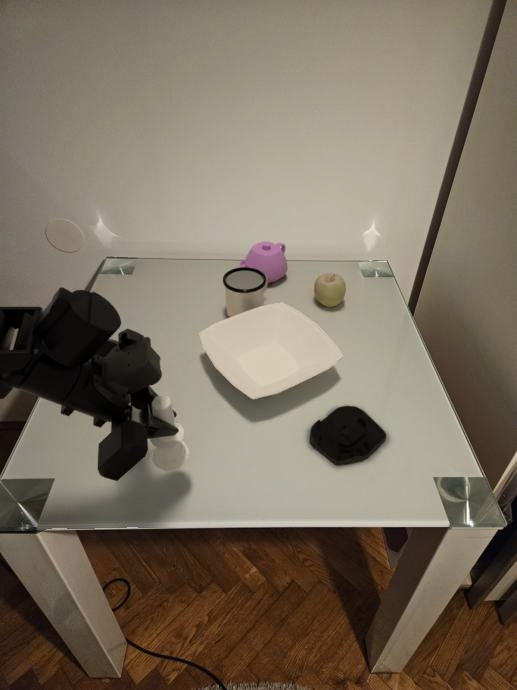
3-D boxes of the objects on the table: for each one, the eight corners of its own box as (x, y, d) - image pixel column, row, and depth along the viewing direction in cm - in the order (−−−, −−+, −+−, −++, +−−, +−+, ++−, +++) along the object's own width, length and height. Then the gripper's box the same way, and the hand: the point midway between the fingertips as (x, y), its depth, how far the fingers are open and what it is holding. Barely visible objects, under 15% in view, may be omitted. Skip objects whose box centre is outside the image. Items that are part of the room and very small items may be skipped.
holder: (83, 389, 81) (77, 372, 78) (84, 359, 87) (78, 343, 84) (129, 381, 83) (125, 364, 80) (127, 352, 89) (122, 335, 86)
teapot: (298, 275, 111) (301, 242, 105) (254, 297, 104) (255, 263, 98) (270, 259, 117) (271, 227, 111) (227, 279, 110) (225, 246, 103)
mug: (246, 330, 95) (245, 296, 89) (215, 312, 99) (213, 278, 93) (280, 306, 101) (282, 272, 95) (250, 290, 106) (250, 257, 100)
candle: (145, 453, 63) (131, 397, 55) (176, 434, 66) (167, 378, 58) (164, 478, 60) (152, 422, 52) (196, 456, 63) (190, 401, 55)
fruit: (350, 302, 103) (355, 273, 98) (331, 315, 99) (335, 286, 94) (325, 289, 107) (329, 260, 102) (305, 301, 103) (308, 272, 98)
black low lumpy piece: (346, 401, 80) (350, 383, 76) (392, 434, 74) (398, 415, 71) (302, 437, 74) (304, 419, 70) (348, 476, 68) (353, 458, 65)
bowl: (190, 353, 89) (187, 332, 85) (283, 317, 98) (285, 296, 95) (247, 428, 75) (247, 407, 71) (350, 377, 84) (354, 356, 80)
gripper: (108, 399, 40) (228, 448, 49) (111, 287, 54) (205, 342, 63) (42, 463, 44) (166, 498, 53) (61, 344, 57) (157, 388, 67)
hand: (175, 424), depth 59 cm, fingers closed on candle, 2 cm apart
